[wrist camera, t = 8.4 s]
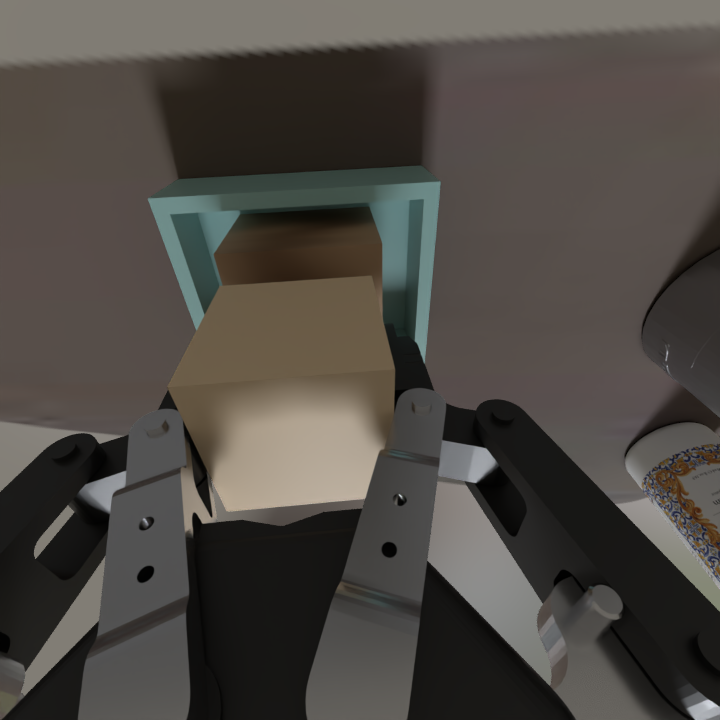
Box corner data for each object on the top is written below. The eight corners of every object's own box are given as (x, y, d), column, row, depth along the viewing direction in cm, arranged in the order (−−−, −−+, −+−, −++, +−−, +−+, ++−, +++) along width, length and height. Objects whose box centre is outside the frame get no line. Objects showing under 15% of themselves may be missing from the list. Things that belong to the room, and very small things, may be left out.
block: (369, 206, 17) (382, 243, 13) (371, 317, 21) (382, 372, 17) (239, 214, 17) (213, 254, 13) (265, 324, 20) (250, 383, 16)
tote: (421, 165, 17) (440, 181, 14) (411, 330, 22) (424, 366, 19) (178, 179, 16) (147, 198, 13) (229, 344, 22) (215, 382, 19)
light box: (371, 275, 12) (395, 369, 8) (374, 388, 15) (391, 496, 11) (219, 285, 12) (167, 387, 8) (252, 397, 15) (227, 511, 11)
